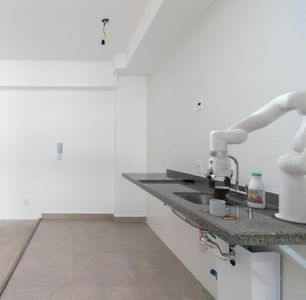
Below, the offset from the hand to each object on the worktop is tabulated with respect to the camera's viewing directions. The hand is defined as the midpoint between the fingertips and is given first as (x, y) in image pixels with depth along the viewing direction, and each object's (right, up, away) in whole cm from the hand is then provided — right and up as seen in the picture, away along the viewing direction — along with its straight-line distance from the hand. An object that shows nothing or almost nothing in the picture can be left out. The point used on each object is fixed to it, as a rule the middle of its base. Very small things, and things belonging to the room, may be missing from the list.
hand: (219, 187), depth 107 cm
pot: (-1, -14, 0) cm, 14 cm away
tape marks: (-1, -14, 0) cm, 14 cm away
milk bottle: (+32, -14, +15) cm, 38 cm away
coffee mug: (+15, -14, +23) cm, 31 cm away
